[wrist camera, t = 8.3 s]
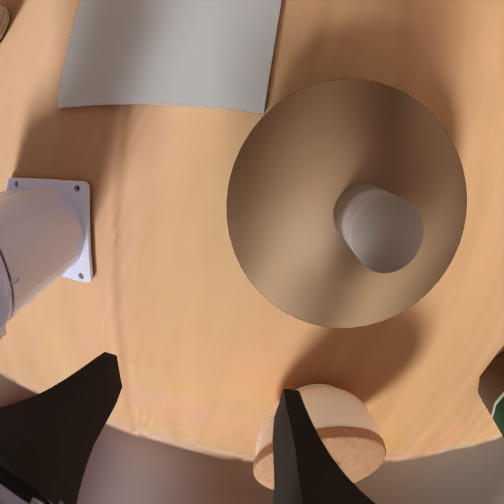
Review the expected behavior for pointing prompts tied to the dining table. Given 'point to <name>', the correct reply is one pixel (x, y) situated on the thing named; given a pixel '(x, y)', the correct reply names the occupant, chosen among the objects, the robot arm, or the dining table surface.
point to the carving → (3, 20)
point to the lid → (346, 203)
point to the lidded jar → (329, 433)
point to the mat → (171, 53)
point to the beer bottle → (494, 390)
